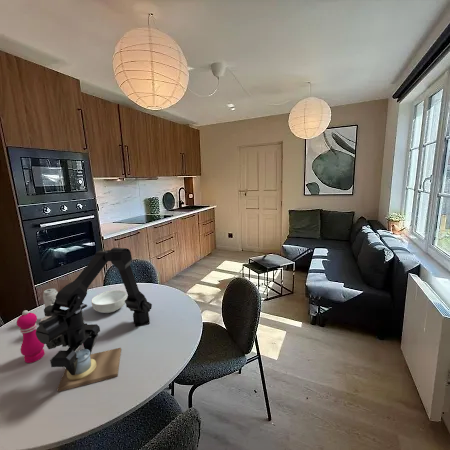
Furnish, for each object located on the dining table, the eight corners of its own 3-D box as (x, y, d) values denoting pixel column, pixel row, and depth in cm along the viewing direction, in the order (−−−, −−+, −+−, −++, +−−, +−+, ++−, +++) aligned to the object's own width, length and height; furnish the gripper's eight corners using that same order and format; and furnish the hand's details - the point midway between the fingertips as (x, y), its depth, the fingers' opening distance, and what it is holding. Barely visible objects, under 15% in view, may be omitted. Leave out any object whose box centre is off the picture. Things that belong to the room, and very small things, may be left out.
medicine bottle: (56, 335, 110) (51, 310, 107) (42, 334, 111) (37, 309, 109) (69, 326, 116) (64, 302, 114) (56, 324, 118) (51, 301, 116)
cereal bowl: (134, 305, 133) (133, 293, 132) (105, 321, 119) (103, 308, 118) (115, 298, 142) (113, 287, 141) (86, 312, 128) (84, 299, 127)
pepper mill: (31, 351, 100) (21, 306, 96) (50, 350, 100) (41, 304, 96) (18, 365, 93) (7, 316, 89) (38, 363, 93) (28, 314, 89)
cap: (83, 375, 83) (80, 362, 82) (66, 373, 84) (64, 361, 83) (96, 361, 89) (94, 349, 88) (80, 360, 90) (78, 348, 90)
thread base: (121, 350, 98) (120, 345, 98) (117, 376, 85) (116, 370, 85) (69, 362, 93) (68, 356, 93) (57, 391, 80) (56, 386, 79)
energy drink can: (53, 322, 120) (48, 293, 117) (44, 320, 122) (39, 292, 119) (64, 315, 126) (59, 288, 123) (56, 314, 128) (51, 287, 125)
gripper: (68, 310, 93) (75, 347, 96) (28, 343, 75) (38, 387, 78) (97, 310, 93) (103, 346, 96) (64, 342, 74) (73, 387, 77)
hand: (81, 365), depth 87 cm, fingers open, 8 cm apart
